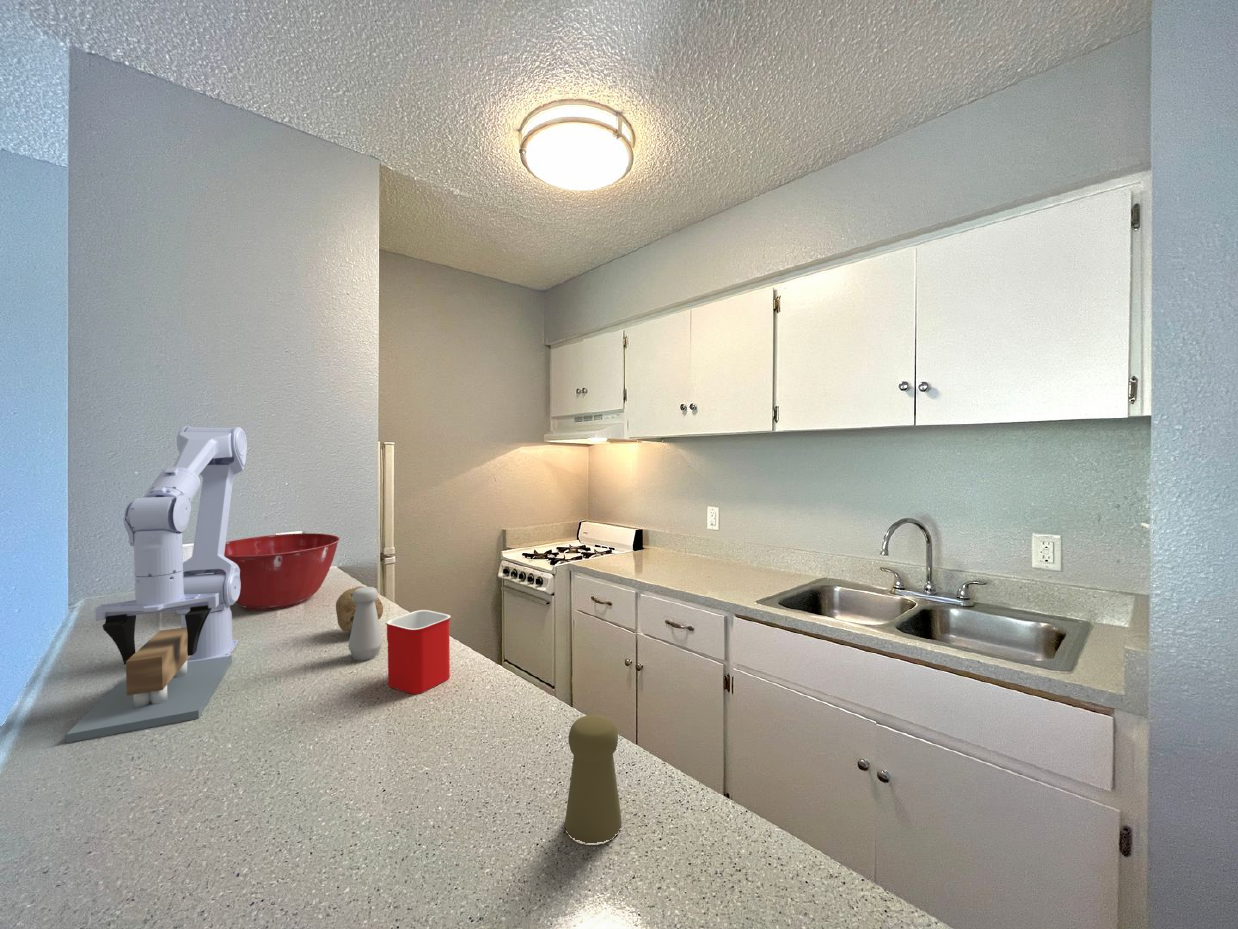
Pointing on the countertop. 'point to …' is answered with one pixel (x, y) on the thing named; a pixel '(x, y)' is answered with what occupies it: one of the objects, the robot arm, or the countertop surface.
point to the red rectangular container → (418, 651)
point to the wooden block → (157, 661)
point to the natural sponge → (351, 609)
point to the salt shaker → (365, 625)
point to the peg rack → (154, 702)
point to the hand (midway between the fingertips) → (161, 657)
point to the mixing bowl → (281, 568)
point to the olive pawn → (593, 781)
